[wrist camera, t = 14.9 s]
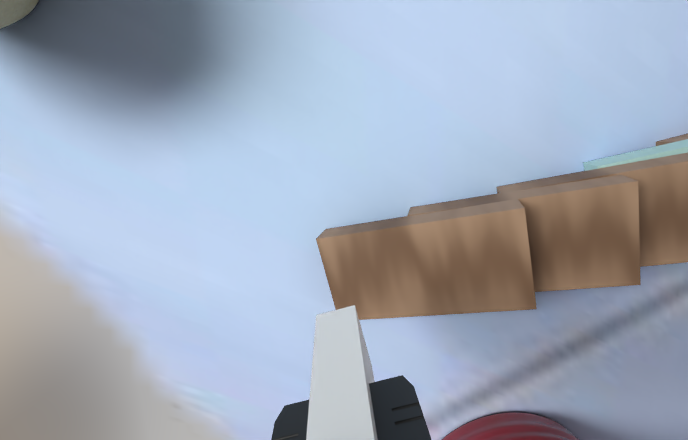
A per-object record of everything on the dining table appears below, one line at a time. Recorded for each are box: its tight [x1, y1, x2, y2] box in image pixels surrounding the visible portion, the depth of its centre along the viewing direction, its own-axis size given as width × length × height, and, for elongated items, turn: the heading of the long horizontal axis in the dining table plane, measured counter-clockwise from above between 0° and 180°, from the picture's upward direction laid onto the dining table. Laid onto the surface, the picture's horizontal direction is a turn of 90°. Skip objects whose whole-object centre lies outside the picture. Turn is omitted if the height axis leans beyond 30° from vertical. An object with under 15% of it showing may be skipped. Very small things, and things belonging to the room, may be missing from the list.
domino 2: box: [408, 174, 640, 292], centre depth 18 cm, size 5×2×10 cm
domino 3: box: [497, 153, 688, 267], centre depth 17 cm, size 5×2×10 cm
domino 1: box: [316, 199, 537, 320], centre depth 18 cm, size 5×2×10 cm
